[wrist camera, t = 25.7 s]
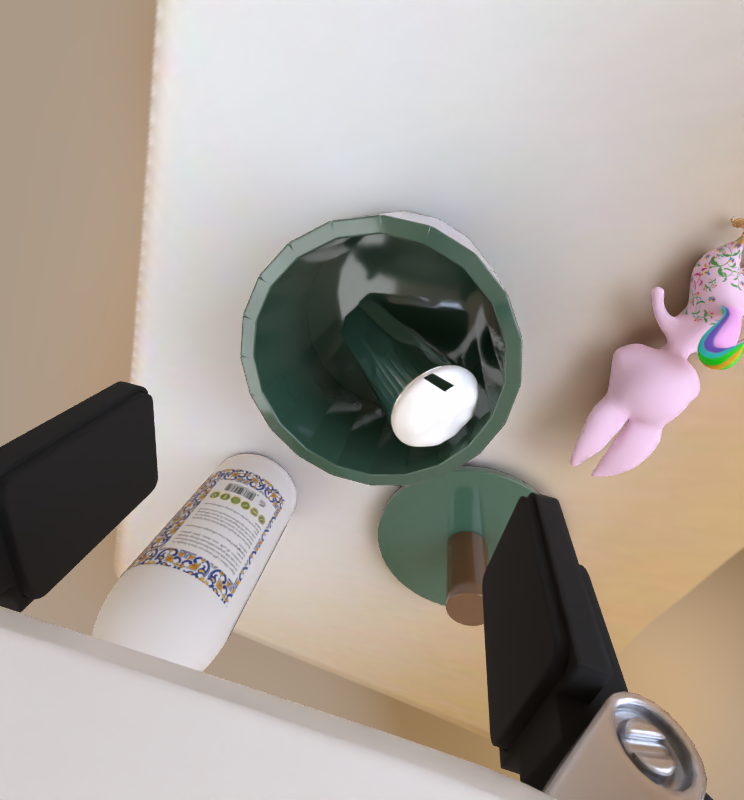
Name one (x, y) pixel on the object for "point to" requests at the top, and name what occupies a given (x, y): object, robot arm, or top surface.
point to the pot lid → (449, 535)
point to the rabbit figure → (668, 364)
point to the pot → (335, 367)
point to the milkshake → (409, 376)
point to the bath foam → (201, 565)
